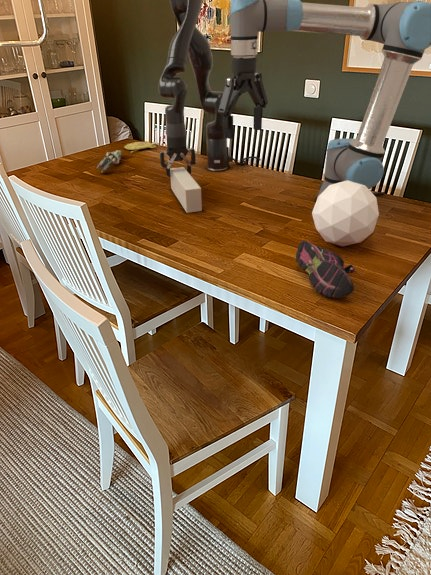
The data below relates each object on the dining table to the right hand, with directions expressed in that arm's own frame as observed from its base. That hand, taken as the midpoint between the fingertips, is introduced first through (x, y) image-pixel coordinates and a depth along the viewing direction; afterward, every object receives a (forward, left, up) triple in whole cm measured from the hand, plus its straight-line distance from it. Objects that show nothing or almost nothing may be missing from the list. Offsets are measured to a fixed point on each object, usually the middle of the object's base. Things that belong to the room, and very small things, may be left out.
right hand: (243, 133), depth 137 cm
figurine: (+32, -88, -30) cm, 99 cm away
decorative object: (+13, -113, -30) cm, 118 cm away
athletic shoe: (-7, +43, -30) cm, 53 cm away
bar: (+12, -31, -30) cm, 45 cm away
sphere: (-24, +24, -30) cm, 46 cm away
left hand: (+11, -41, -24) cm, 48 cm away
